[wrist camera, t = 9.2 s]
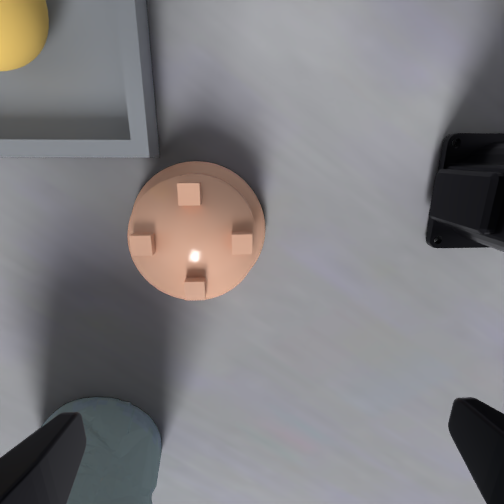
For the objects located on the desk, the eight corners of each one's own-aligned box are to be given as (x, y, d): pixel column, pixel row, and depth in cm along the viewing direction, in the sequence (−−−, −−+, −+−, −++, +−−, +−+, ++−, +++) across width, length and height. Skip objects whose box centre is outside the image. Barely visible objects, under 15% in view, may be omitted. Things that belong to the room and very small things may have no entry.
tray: (134, -135, 13) (116, -187, 11) (159, 157, 17) (149, 157, 15) (-163, -149, 13) (-238, -207, 11) (-71, 157, 16) (-114, 157, 14)
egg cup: (265, 161, 17) (272, 162, 14) (263, 286, 19) (269, 314, 16) (126, 161, 17) (98, 162, 13) (141, 288, 19) (121, 317, 16)
